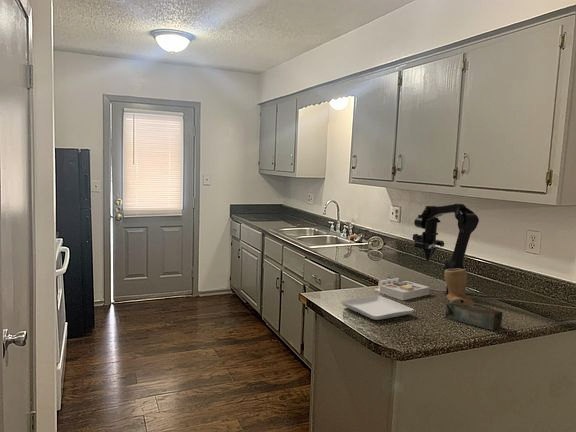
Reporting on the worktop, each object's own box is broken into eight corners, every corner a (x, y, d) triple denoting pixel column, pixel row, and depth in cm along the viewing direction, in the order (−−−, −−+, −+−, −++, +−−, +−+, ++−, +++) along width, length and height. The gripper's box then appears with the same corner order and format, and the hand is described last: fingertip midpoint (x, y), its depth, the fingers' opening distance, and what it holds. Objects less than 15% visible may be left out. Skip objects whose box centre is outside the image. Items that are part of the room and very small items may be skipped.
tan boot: (440, 296, 212) (443, 264, 210) (467, 299, 209) (470, 267, 208) (445, 305, 197) (448, 271, 195) (474, 308, 195) (477, 274, 193)
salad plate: (374, 324, 168) (375, 315, 167) (338, 308, 186) (339, 299, 185) (415, 317, 179) (415, 308, 179) (377, 302, 197) (378, 294, 196)
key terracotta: (398, 292, 211) (398, 288, 210) (392, 293, 208) (392, 289, 208) (390, 289, 214) (390, 286, 214) (384, 290, 211) (384, 287, 211)
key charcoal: (406, 287, 214) (406, 283, 214) (400, 288, 211) (401, 284, 211) (398, 285, 218) (399, 281, 217) (393, 286, 215) (393, 282, 215)
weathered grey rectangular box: (453, 314, 185) (454, 298, 185) (502, 327, 172) (504, 310, 171) (444, 318, 180) (445, 301, 179) (494, 332, 166) (496, 314, 166)
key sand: (413, 291, 208) (413, 287, 208) (407, 292, 205) (407, 288, 205) (405, 288, 211) (405, 284, 211) (399, 289, 208) (399, 286, 208)
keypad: (429, 294, 214) (430, 285, 213) (402, 300, 201) (403, 290, 201) (400, 286, 227) (401, 277, 226) (373, 291, 214) (374, 281, 213)
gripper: (427, 227, 244) (424, 256, 245) (406, 229, 231) (403, 259, 233) (446, 230, 235) (443, 260, 237) (425, 232, 223) (422, 263, 225)
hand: (427, 260), depth 233 cm, fingers closed
